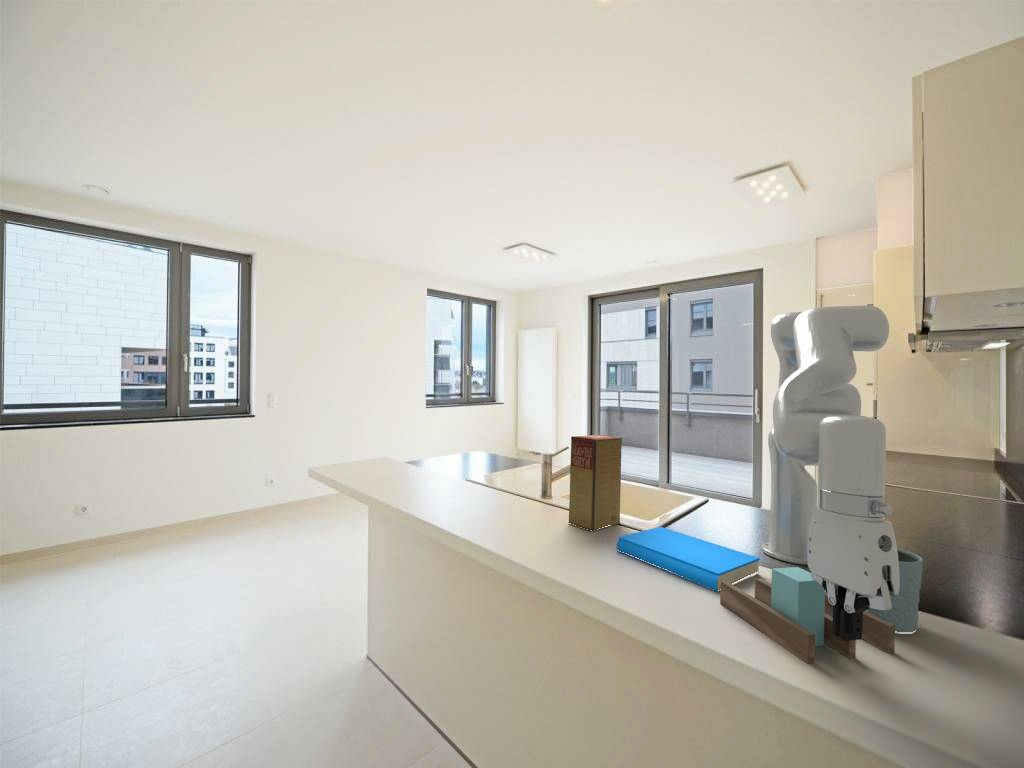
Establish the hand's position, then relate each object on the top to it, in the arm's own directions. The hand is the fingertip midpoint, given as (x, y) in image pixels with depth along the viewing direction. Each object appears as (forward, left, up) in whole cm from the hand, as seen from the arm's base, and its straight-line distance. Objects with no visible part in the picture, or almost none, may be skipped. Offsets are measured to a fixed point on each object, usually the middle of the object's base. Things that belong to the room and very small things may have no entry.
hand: (847, 636), depth 62 cm
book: (-2, -39, -5) cm, 40 cm away
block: (0, -8, -5) cm, 10 cm away
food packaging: (+7, -69, -5) cm, 70 cm away
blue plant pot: (-20, -10, -5) cm, 23 cm away
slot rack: (-4, -11, -5) cm, 13 cm away
